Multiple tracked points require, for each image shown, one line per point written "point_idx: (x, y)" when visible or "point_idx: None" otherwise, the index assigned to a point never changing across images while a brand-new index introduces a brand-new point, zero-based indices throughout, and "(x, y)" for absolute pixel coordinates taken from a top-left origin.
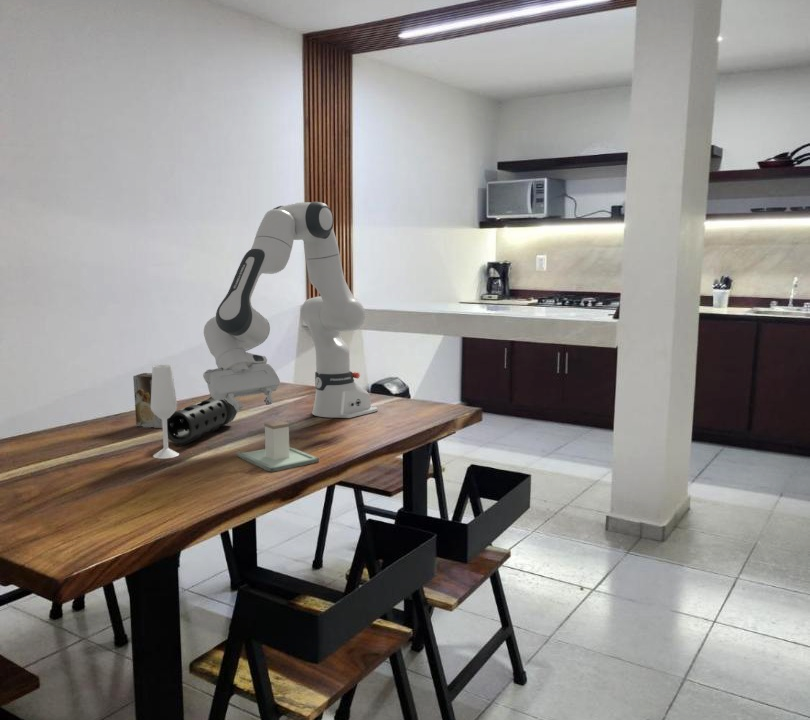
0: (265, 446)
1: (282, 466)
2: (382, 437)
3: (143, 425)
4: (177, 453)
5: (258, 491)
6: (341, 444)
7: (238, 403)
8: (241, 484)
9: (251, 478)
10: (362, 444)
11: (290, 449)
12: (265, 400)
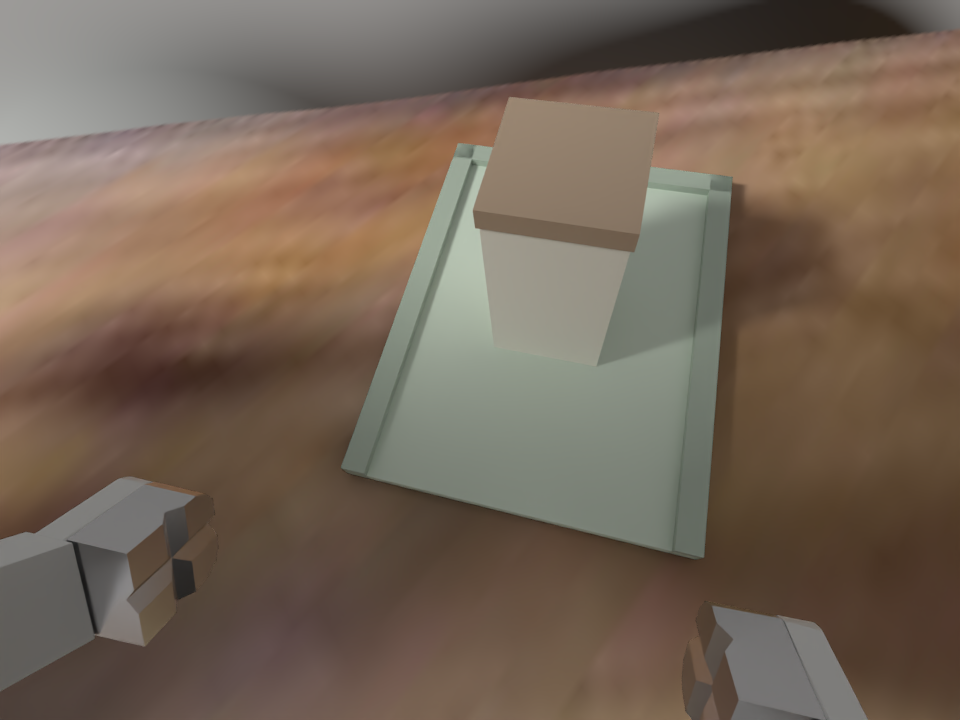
0: (605, 335)
1: (662, 170)
2: None
3: None
4: None
5: (911, 64)
6: (141, 274)
7: (802, 668)
8: (936, 157)
9: (852, 186)
10: (105, 207)
11: (406, 352)
12: (162, 594)
